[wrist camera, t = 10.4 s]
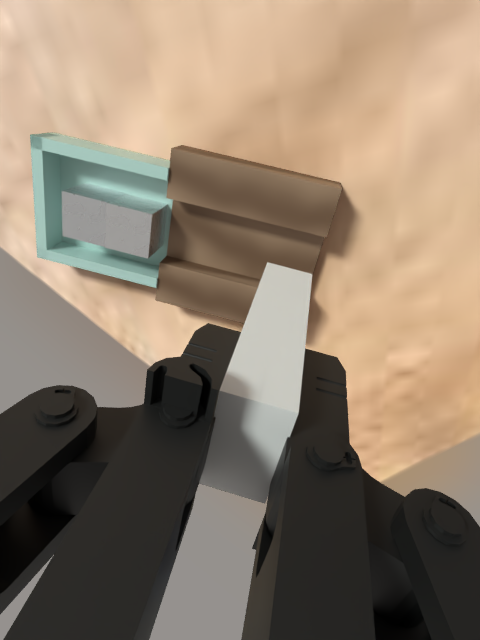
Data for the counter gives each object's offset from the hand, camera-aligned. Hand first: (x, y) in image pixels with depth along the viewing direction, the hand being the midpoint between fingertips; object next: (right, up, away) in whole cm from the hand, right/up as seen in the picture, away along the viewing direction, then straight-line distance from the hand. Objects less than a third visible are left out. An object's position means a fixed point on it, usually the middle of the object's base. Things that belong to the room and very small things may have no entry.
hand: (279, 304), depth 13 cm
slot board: (-1, +7, +24) cm, 25 cm away
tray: (-13, +10, +25) cm, 30 cm away
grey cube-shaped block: (-14, +10, +25) cm, 30 cm away
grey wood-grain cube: (-10, +9, +25) cm, 28 cm away
